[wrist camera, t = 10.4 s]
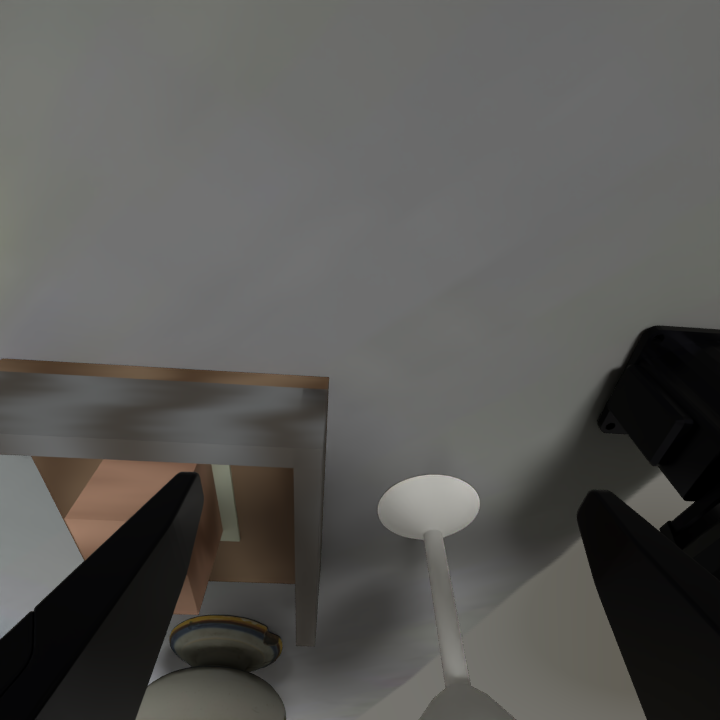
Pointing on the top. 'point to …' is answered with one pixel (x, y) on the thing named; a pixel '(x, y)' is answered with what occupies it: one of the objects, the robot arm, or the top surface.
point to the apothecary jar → (217, 673)
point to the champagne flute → (441, 581)
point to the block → (127, 495)
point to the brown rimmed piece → (189, 452)
